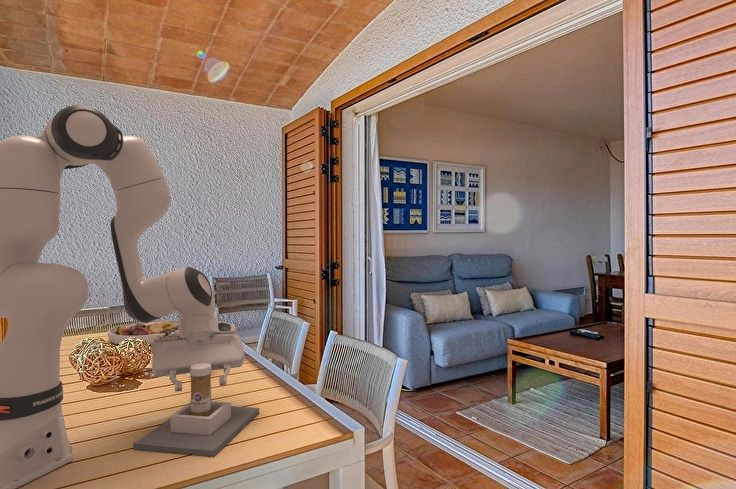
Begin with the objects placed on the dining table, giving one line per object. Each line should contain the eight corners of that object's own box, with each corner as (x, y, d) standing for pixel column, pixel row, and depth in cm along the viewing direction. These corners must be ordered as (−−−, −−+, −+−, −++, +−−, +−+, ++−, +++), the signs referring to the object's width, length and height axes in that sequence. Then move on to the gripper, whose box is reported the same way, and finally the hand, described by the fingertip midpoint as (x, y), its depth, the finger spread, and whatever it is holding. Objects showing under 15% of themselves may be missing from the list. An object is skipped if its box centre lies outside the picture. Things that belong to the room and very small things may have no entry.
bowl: (123, 333, 202) (122, 315, 202) (194, 330, 208) (193, 312, 207) (95, 350, 173) (95, 330, 172) (179, 346, 178) (179, 326, 178)
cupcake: (177, 352, 169) (176, 325, 169) (184, 357, 162) (184, 329, 161) (149, 356, 163) (148, 328, 163) (155, 362, 156) (154, 333, 155)
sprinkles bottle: (190, 429, 101) (189, 369, 100) (191, 421, 105) (190, 363, 105) (211, 426, 102) (211, 367, 102) (212, 418, 107) (211, 361, 106)
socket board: (213, 456, 91) (213, 433, 91) (133, 449, 94) (132, 426, 94) (259, 412, 113) (259, 394, 113) (192, 408, 116) (192, 389, 116)
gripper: (150, 331, 105) (149, 387, 96) (241, 324, 113) (248, 374, 104) (151, 346, 109) (150, 400, 101) (239, 338, 117) (245, 387, 109)
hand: (201, 387), depth 103 cm, fingers open, 8 cm apart
